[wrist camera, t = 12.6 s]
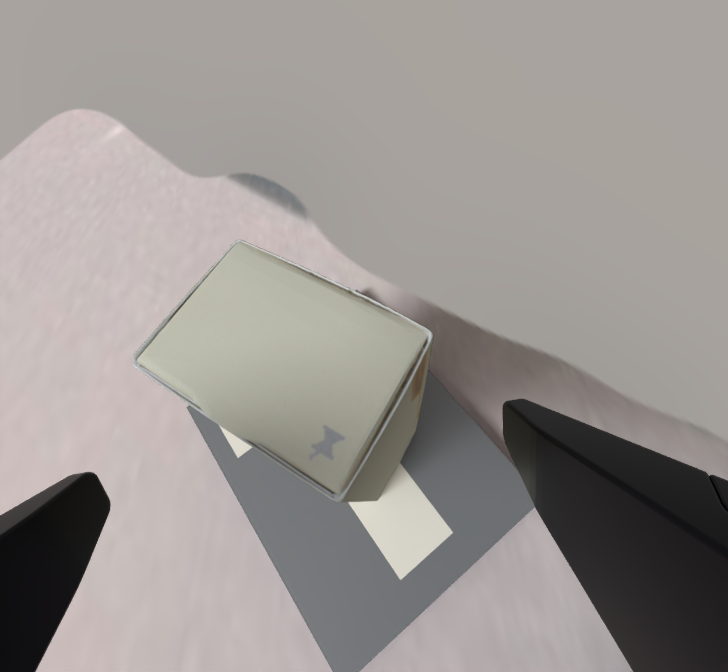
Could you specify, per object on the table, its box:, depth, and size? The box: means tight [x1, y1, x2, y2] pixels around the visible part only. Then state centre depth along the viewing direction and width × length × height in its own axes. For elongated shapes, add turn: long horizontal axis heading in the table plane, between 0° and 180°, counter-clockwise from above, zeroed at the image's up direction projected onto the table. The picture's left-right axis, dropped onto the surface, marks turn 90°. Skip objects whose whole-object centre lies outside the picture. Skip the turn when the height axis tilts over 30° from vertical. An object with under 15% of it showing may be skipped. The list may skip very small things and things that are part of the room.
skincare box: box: [132, 240, 433, 502], centre depth 14 cm, size 6×4×12 cm
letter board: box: [187, 290, 535, 672], centre depth 20 cm, size 15×12×1 cm
